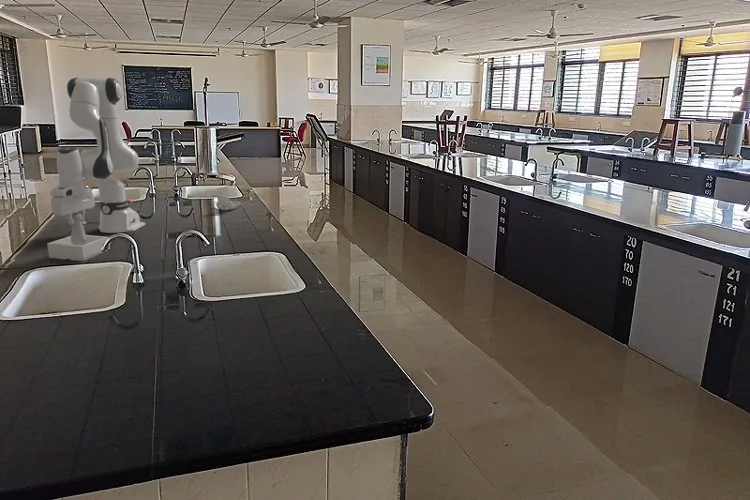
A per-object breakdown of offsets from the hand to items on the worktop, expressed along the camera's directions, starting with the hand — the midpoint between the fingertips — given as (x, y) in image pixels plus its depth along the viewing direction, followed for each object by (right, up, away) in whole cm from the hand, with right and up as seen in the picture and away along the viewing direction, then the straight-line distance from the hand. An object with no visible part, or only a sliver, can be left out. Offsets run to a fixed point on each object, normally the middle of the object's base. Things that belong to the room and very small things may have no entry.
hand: (76, 222), depth 235 cm
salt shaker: (0, -9, +2) cm, 10 cm away
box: (0, -13, +4) cm, 13 cm away
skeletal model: (+36, +11, +95) cm, 103 cm away
